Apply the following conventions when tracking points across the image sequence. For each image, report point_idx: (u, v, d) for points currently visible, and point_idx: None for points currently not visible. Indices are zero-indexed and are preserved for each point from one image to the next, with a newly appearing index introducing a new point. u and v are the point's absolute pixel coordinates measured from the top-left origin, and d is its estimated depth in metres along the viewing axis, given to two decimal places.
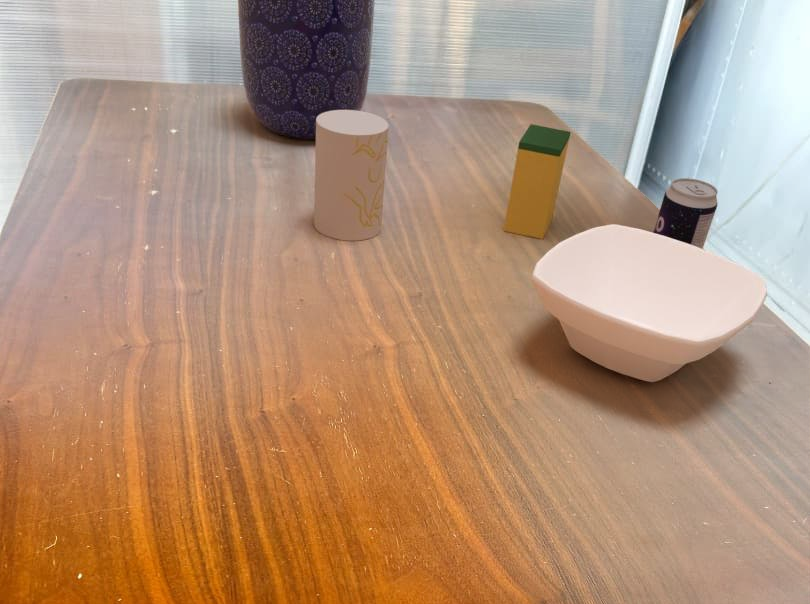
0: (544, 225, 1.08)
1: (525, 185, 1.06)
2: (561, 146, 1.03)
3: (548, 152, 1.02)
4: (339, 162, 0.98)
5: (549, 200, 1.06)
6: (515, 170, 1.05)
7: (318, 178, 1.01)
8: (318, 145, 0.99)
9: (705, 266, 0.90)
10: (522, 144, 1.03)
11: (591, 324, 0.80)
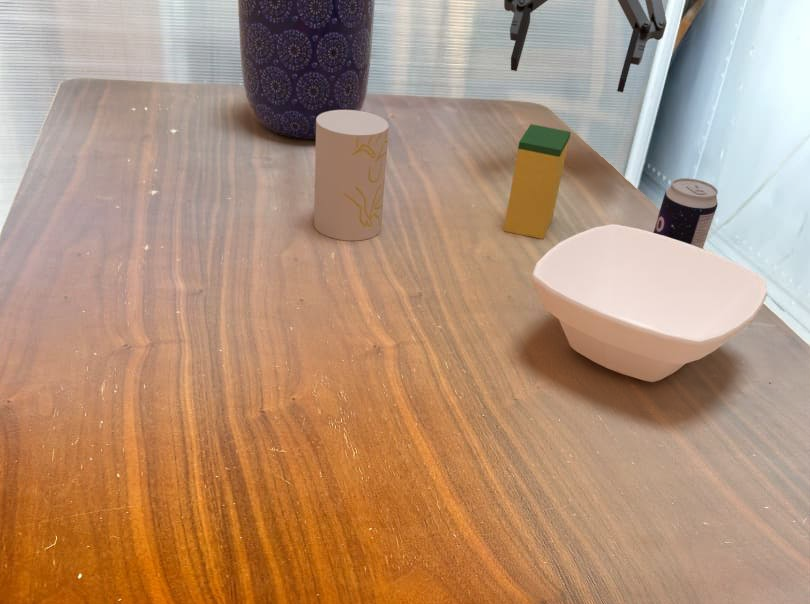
0: (544, 225, 1.08)
1: (525, 185, 1.06)
2: (561, 146, 1.03)
3: (548, 152, 1.02)
4: (339, 162, 0.98)
5: (549, 200, 1.06)
6: (515, 170, 1.05)
7: (318, 178, 1.01)
8: (318, 145, 0.99)
9: (705, 266, 0.90)
10: (522, 144, 1.03)
11: (591, 324, 0.80)
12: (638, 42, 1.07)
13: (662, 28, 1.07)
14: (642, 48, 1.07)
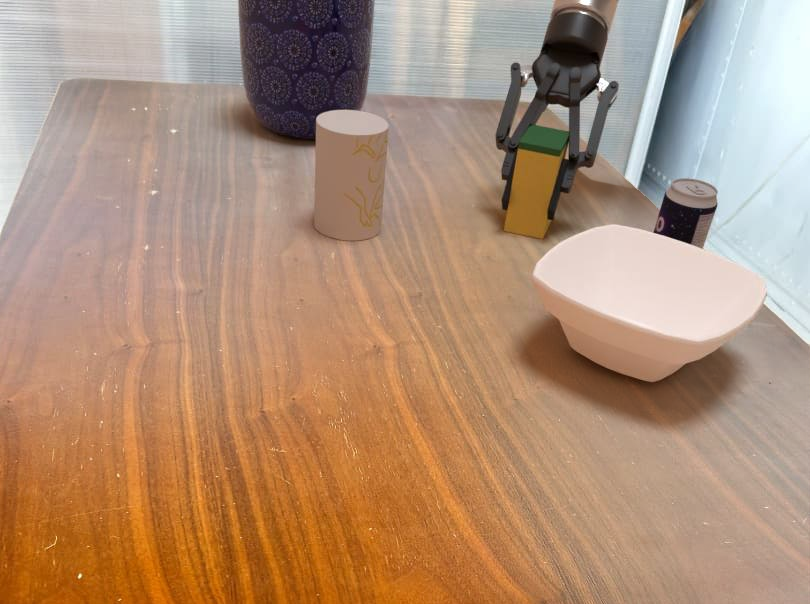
0: (544, 225, 1.08)
1: (525, 185, 1.06)
2: (561, 146, 1.03)
3: (548, 152, 1.02)
4: (339, 162, 0.98)
5: (549, 200, 1.06)
6: (515, 170, 1.05)
7: (318, 178, 1.01)
8: (318, 145, 0.99)
9: (705, 266, 0.90)
10: (522, 144, 1.03)
11: (591, 324, 0.80)
12: (567, 171, 1.06)
13: (589, 158, 1.05)
14: (571, 178, 1.06)
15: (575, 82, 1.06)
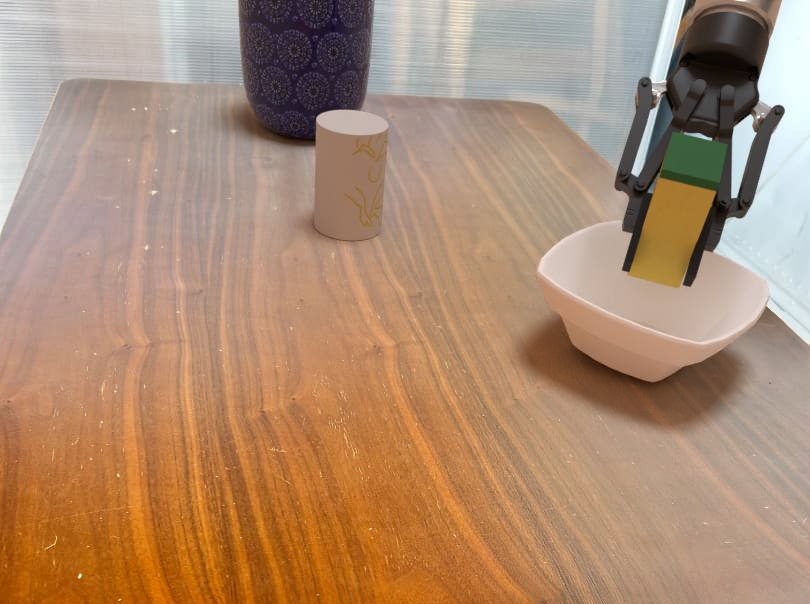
0: (683, 272, 0.82)
1: (663, 223, 0.79)
2: (719, 175, 0.75)
3: (701, 184, 0.75)
4: (340, 162, 0.98)
5: (694, 243, 0.79)
6: (652, 204, 0.78)
7: (318, 178, 1.01)
8: (318, 145, 0.99)
9: (708, 266, 0.90)
10: (666, 172, 0.75)
11: (594, 323, 0.80)
12: (714, 224, 0.80)
13: (744, 207, 0.79)
14: (719, 233, 0.80)
15: (727, 105, 0.79)
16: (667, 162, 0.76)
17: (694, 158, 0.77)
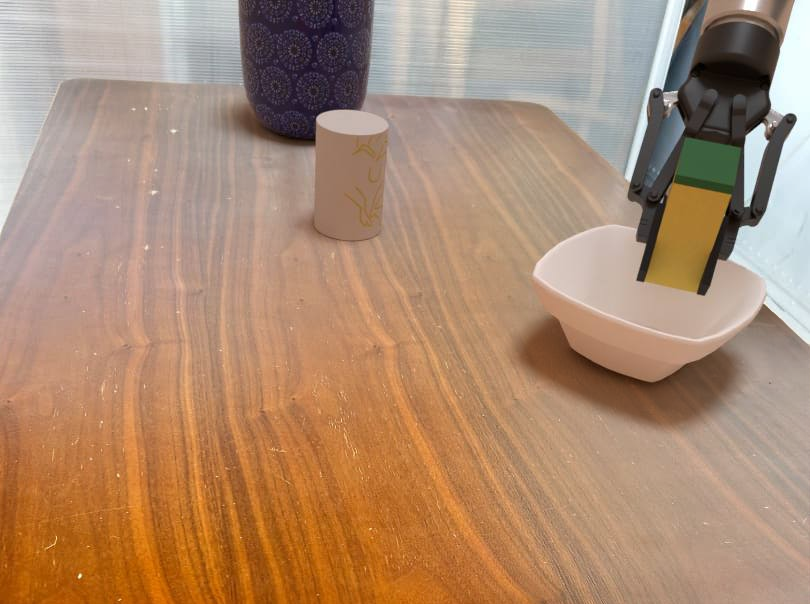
0: (700, 277, 0.82)
1: (678, 228, 0.79)
2: (734, 178, 0.75)
3: (716, 188, 0.75)
4: (340, 162, 0.98)
5: (711, 247, 0.79)
6: (667, 209, 0.78)
7: (318, 178, 1.01)
8: (318, 145, 0.99)
9: None
10: (680, 178, 0.75)
11: (591, 325, 0.80)
12: (727, 233, 0.80)
13: (757, 216, 0.79)
14: (732, 241, 0.80)
15: (739, 115, 0.79)
16: (681, 167, 0.76)
17: (708, 162, 0.77)
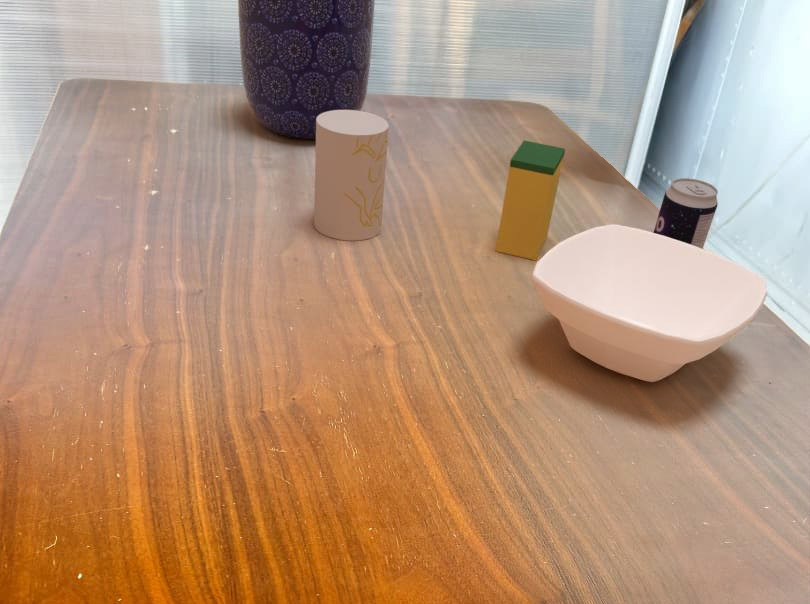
0: (537, 246, 1.03)
1: (517, 204, 1.01)
2: (555, 164, 0.98)
3: (541, 170, 0.98)
4: (340, 162, 0.98)
5: (542, 220, 1.01)
6: (507, 189, 1.00)
7: (318, 178, 1.01)
8: (318, 145, 0.99)
9: (705, 266, 0.90)
10: (514, 162, 0.98)
11: (591, 324, 0.80)
12: None
13: None
14: None
15: None
16: (515, 156, 0.99)
17: (537, 155, 1.00)
